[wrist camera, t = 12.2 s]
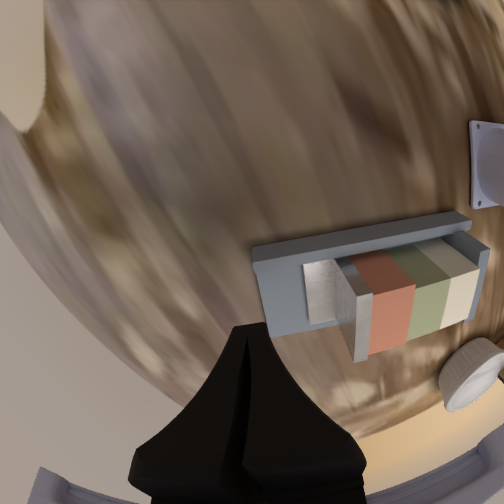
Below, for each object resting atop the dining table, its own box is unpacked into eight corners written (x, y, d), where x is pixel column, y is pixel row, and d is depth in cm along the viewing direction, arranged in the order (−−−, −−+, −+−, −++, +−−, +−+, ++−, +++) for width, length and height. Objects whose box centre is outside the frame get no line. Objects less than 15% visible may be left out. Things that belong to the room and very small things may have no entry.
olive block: (412, 244, 19) (451, 278, 14) (408, 290, 21) (439, 329, 16) (380, 251, 19) (415, 288, 14) (378, 298, 21) (406, 341, 16)
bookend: (344, 252, 19) (373, 292, 14) (346, 312, 21) (367, 359, 16) (301, 260, 19) (318, 304, 14) (308, 320, 22) (322, 370, 17)
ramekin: (491, 315, 25) (512, 339, 20) (489, 356, 28) (504, 377, 24) (427, 365, 27) (444, 395, 22) (435, 396, 31) (447, 420, 26)
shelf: (454, 210, 19) (499, 236, 13) (445, 287, 22) (478, 322, 17) (251, 247, 20) (252, 292, 15) (269, 330, 23) (274, 383, 18)
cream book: (440, 238, 19) (480, 268, 14) (434, 283, 21) (467, 318, 16) (412, 244, 19) (451, 278, 14) (408, 290, 21) (439, 329, 16)
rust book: (380, 247, 19) (415, 284, 14) (378, 300, 21) (405, 343, 16) (344, 254, 19) (372, 295, 14) (345, 308, 21) (367, 355, 16)
